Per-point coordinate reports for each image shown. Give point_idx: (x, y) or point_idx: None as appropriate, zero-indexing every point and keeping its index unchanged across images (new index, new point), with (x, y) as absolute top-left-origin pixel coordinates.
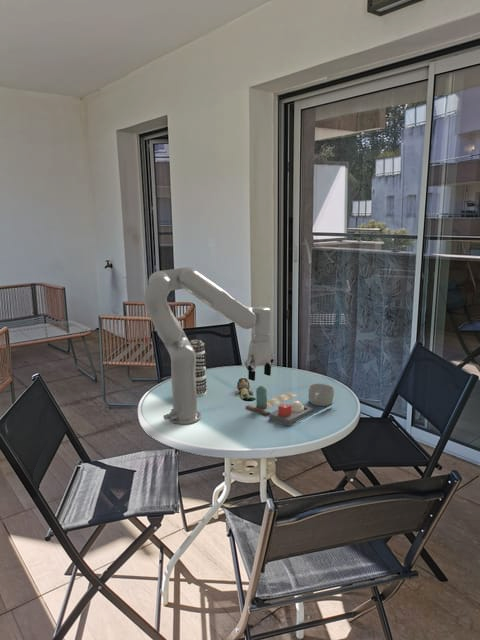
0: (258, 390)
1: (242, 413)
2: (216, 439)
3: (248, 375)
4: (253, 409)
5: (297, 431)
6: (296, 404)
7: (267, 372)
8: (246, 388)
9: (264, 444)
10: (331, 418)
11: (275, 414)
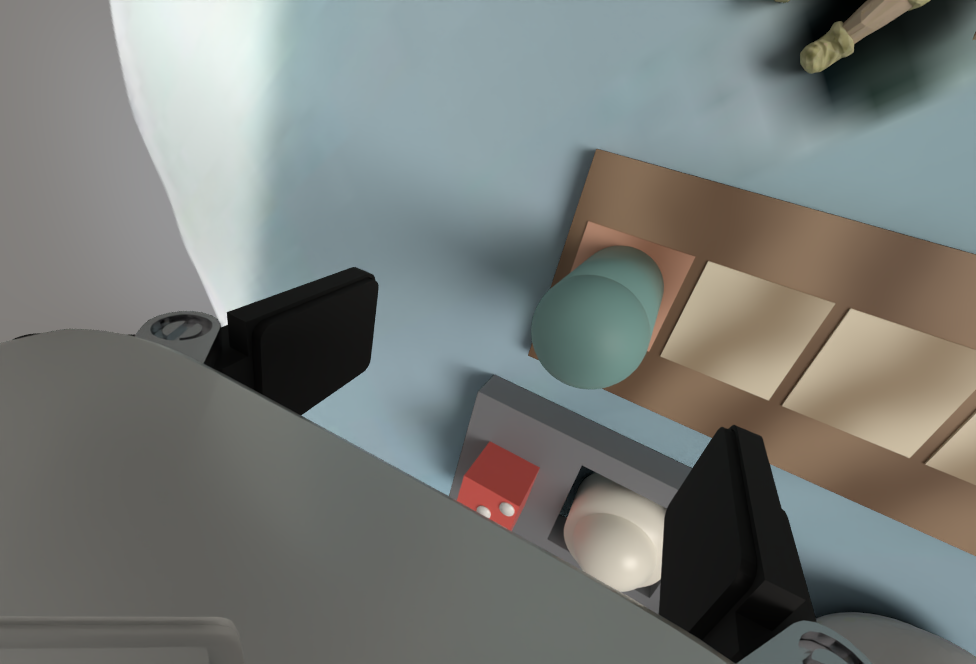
0: (533, 321)
1: (499, 178)
2: (222, 214)
3: (320, 280)
4: (569, 235)
5: None
6: (579, 565)
7: (681, 517)
8: None
9: None
10: None
11: (480, 426)
